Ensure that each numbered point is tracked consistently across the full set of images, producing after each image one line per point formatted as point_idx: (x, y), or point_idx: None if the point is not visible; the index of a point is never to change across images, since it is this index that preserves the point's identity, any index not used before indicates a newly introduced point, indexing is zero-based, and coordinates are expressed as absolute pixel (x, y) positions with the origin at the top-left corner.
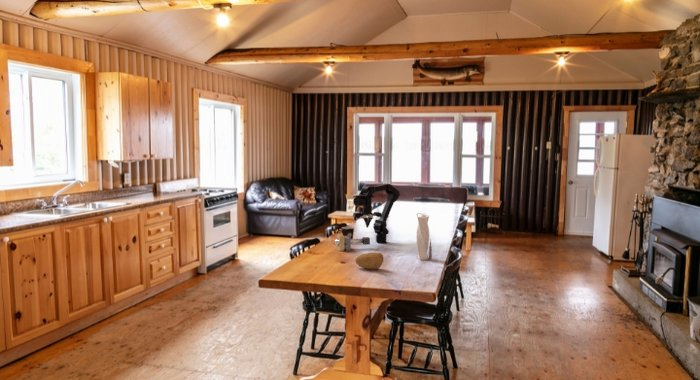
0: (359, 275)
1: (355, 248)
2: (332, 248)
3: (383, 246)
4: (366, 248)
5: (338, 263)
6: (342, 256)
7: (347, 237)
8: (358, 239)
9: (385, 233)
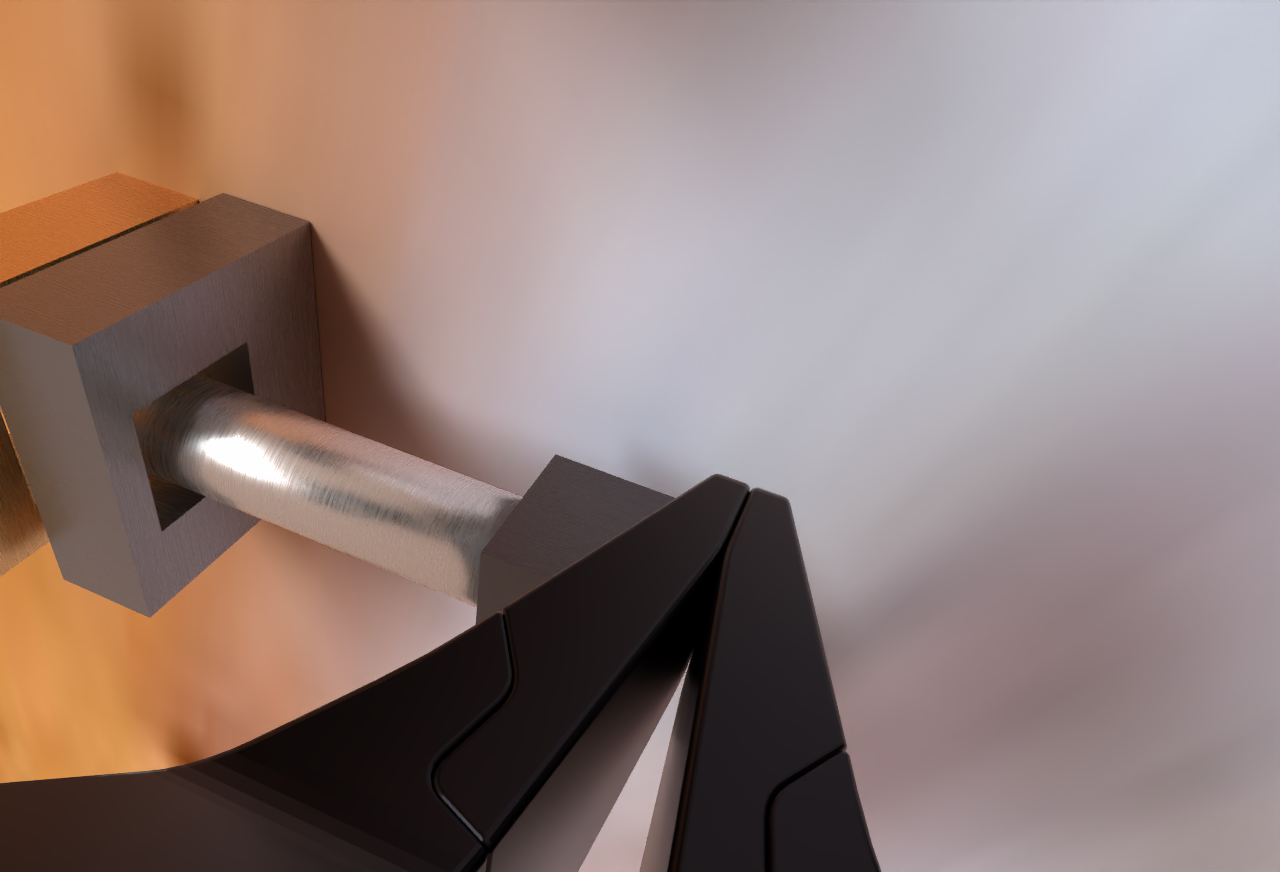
0: None
1: (451, 363)
2: (34, 127)
3: (1160, 553)
4: (659, 481)
5: (154, 763)
6: (194, 626)
7: (85, 516)
8: (373, 563)
9: None
